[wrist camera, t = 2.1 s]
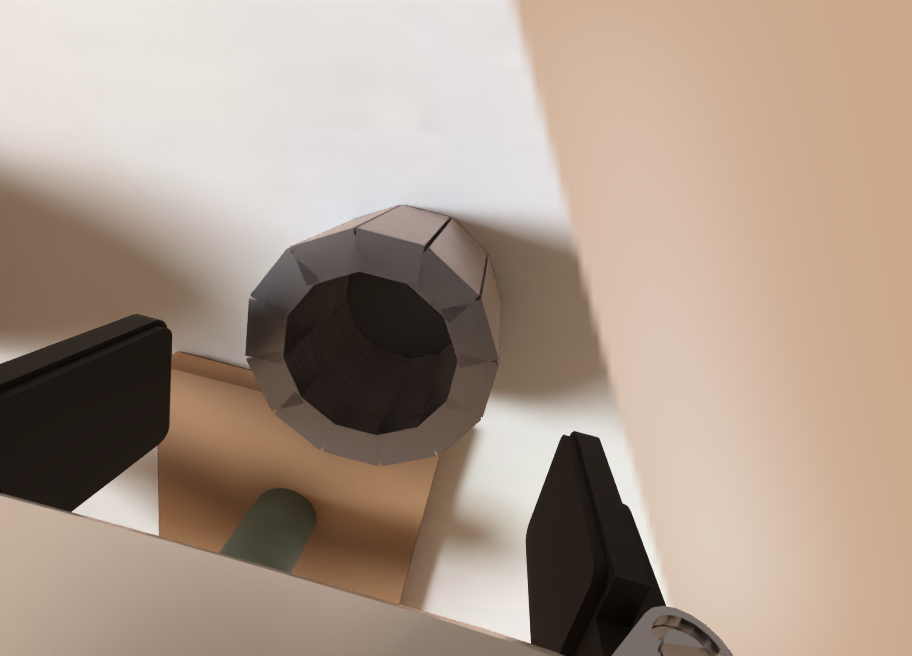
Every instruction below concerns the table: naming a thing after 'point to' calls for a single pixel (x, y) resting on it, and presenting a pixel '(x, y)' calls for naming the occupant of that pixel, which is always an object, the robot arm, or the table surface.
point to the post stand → (281, 488)
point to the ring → (359, 360)
